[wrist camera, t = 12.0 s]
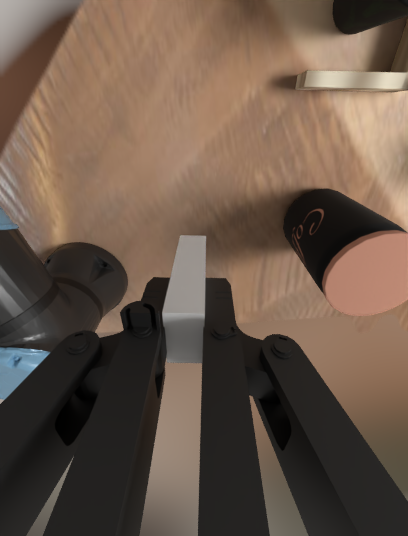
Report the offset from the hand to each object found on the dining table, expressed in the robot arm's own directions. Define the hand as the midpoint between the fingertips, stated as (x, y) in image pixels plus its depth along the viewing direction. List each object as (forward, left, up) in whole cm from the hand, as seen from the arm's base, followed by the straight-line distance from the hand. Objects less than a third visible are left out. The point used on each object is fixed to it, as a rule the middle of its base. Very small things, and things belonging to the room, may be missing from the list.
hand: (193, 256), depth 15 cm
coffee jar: (+19, -7, -27) cm, 33 cm away
